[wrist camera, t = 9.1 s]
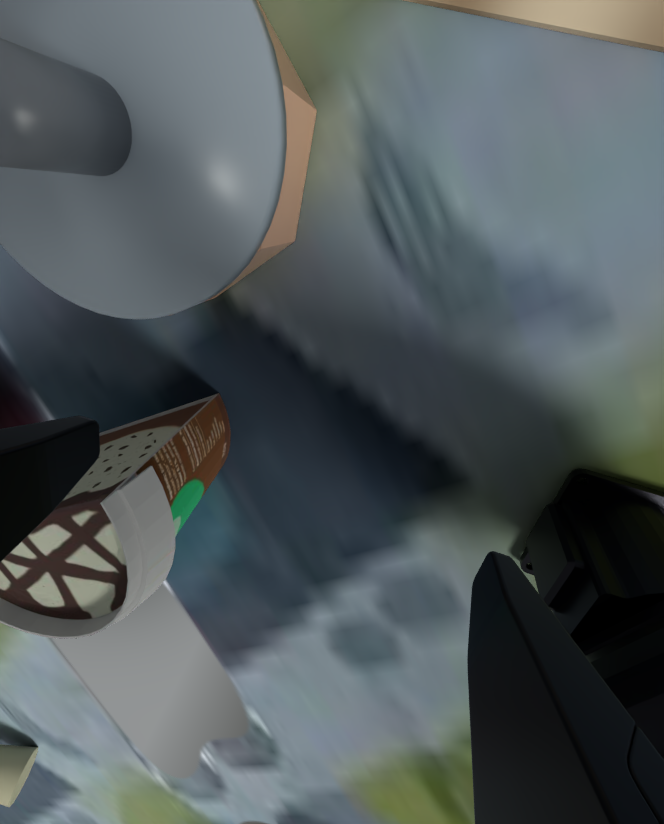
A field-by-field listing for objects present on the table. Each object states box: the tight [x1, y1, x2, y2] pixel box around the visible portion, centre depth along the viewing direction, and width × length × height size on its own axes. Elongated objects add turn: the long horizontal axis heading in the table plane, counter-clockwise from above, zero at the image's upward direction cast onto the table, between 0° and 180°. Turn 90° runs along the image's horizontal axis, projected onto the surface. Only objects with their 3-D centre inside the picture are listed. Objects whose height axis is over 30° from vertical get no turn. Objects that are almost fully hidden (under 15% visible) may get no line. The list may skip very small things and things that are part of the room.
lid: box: [0, 0, 287, 319], centre depth 13 cm, size 12×12×5 cm
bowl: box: [168, 0, 317, 316], centre depth 17 cm, size 12×12×4 cm
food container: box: [0, 393, 231, 639], centre depth 21 cm, size 12×6×10 cm, turn 113°
